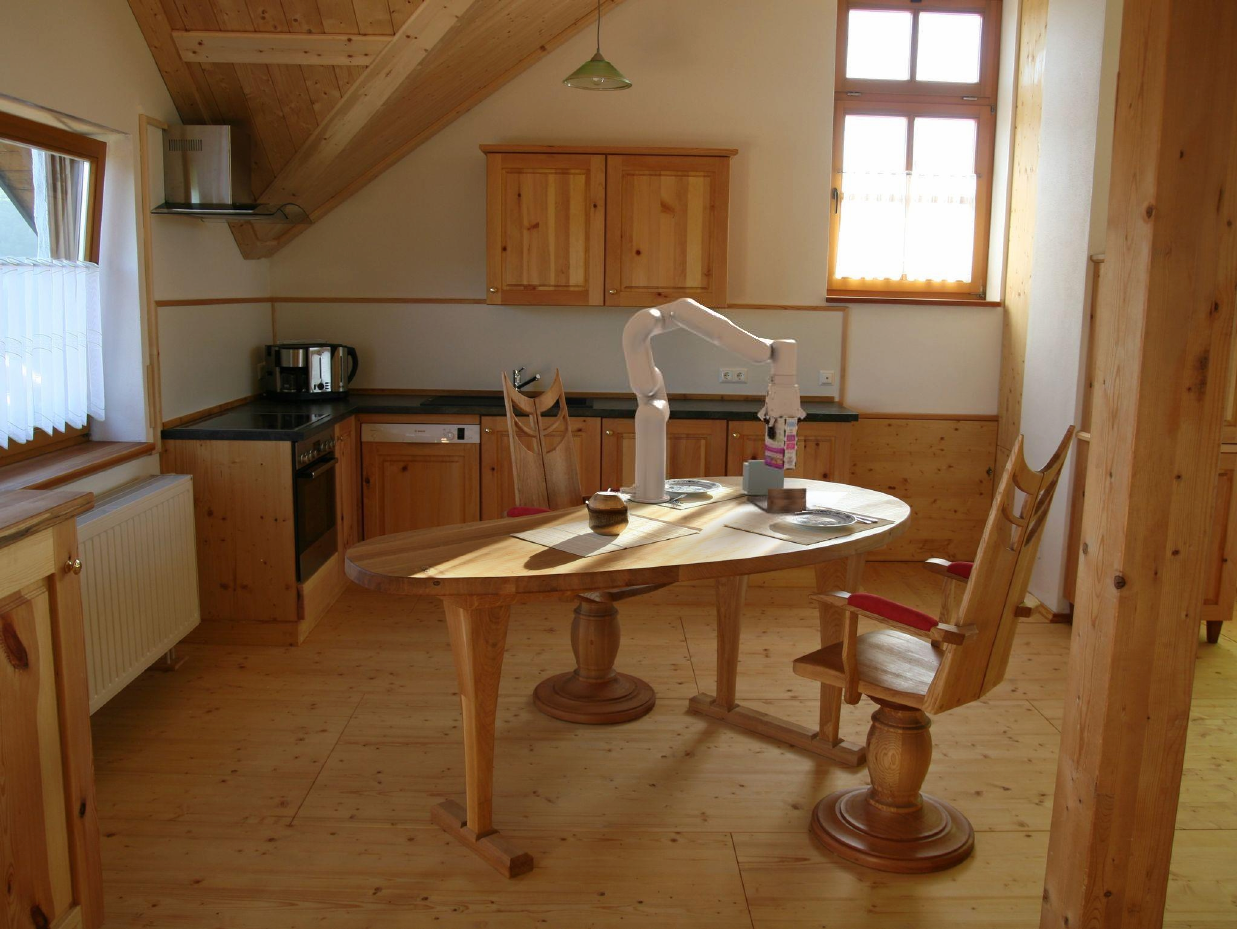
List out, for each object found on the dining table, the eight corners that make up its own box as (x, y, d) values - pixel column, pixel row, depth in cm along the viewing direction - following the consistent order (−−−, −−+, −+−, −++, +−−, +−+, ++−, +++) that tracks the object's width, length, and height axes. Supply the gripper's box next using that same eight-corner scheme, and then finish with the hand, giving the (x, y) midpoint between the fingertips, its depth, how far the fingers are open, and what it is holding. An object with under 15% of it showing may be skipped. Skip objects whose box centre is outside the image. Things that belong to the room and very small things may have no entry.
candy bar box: (797, 469, 328) (799, 416, 325) (783, 470, 326) (785, 417, 323) (777, 464, 338) (778, 412, 335) (763, 465, 336) (765, 412, 333)
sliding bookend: (747, 494, 345) (748, 461, 343) (739, 489, 354) (740, 456, 352) (783, 494, 347) (784, 460, 345) (774, 488, 356) (775, 456, 354)
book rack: (768, 513, 321) (769, 491, 320) (746, 499, 343) (747, 478, 342) (812, 512, 324) (813, 490, 323) (788, 498, 345) (789, 477, 344)
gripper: (760, 381, 322) (758, 441, 325) (814, 381, 325) (812, 440, 328) (752, 379, 330) (750, 437, 333) (805, 379, 333) (803, 436, 336)
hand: (781, 438), depth 330 cm, fingers closed on candy bar box, 5 cm apart
